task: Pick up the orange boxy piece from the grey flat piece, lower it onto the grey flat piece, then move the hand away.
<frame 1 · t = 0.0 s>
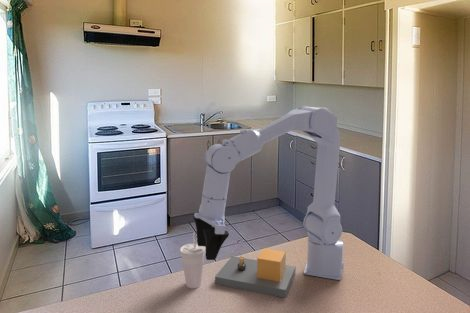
hand: (206, 252, 87), 11 cm above the counter, tool pointing down, fingers open, 7 cm apart
grey flat piece: (256, 278, 96), on the counter
orange boxy piece: (271, 274, 94), point 2 cm above the counter, touching grey flat piece
smoothie: (193, 285, 93), on the counter
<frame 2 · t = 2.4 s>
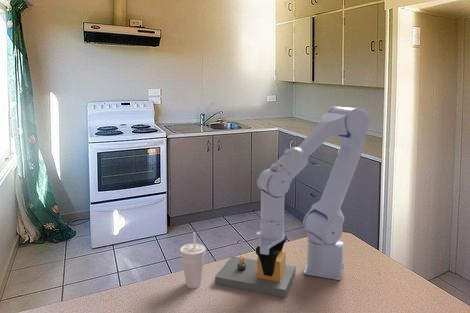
hand: (271, 269, 94), 3 cm above the counter, tool pointing down, fingers closed on orange boxy piece, 6 cm apart
orange boxy piece: (271, 274, 94), point 2 cm above the counter, touching gripper, grey flat piece
everything else where it was.
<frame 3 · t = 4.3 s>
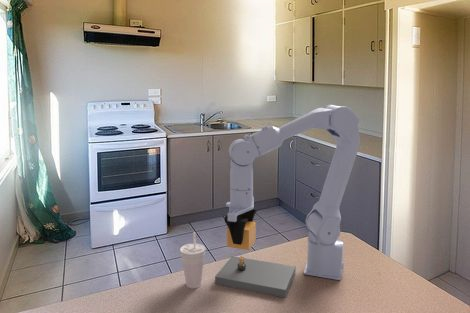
hand: (241, 238, 95), 10 cm above the counter, tool pointing down, fingers closed on orange boxy piece, 6 cm apart
orange boxy piece: (241, 243, 95), point 9 cm above the counter, touching gripper
everything else where it was.
when the fingers open (4 cm above the counter, at t = 6.4 s): orange boxy piece drops 1 cm, resting on grey flat piece.
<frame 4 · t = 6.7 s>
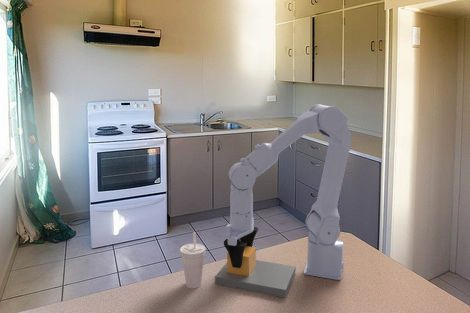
hand: (241, 260, 96), 4 cm above the counter, tool pointing down, fingers open, 7 cm apart
orange boxy piece: (241, 268, 97), point 2 cm above the counter, touching grey flat piece
everything else where it was.
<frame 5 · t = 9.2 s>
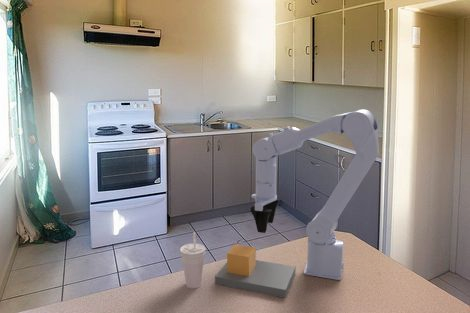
hand: (265, 227, 105), 9 cm above the counter, tool pointing down, fingers open, 7 cm apart
nothing on the counter moved.
at the end: orange boxy piece 0.0 cm from the target spot on the grey flat piece, point 2.0 cm above the grey flat piece's base; orange boxy piece tilted 0°; the gripper is holding nothing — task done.
